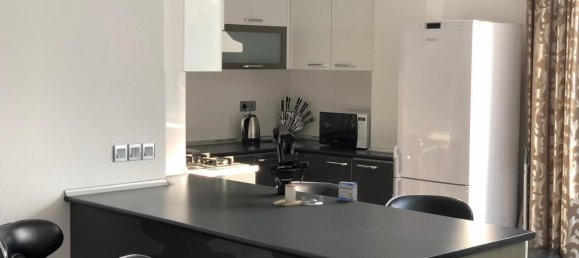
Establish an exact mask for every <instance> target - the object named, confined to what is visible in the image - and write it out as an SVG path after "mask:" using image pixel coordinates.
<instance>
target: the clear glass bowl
mask: <svg viewBox="0 0 579 258" xmlns="http://www.w3.org/2000/svg"><path fill="white" fill-rule="evenodd" d="M318 198H319V200H317V199H315V198H309V199H307V200H306V196H301V201H302V204H301V205H302V206H308V207H309V206H310V207H318V206H322V205H323V204H324V195H319V197H318Z"/></svg>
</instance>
